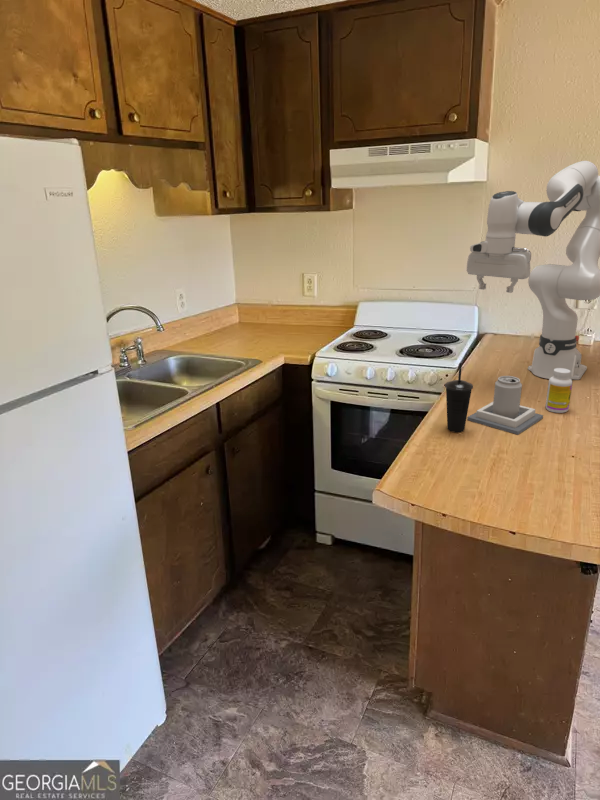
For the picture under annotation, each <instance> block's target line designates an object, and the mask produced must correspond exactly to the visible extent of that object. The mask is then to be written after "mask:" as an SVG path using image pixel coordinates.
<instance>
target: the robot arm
mask: <svg viewBox="0 0 600 800" xmlns="http://www.w3.org/2000/svg"><path fill="white" fill-rule="evenodd" d="M545 191H546V196H547V198H548V200H549V201H524V200H522V199H521V198H519V196H518V192H516V191H513V190H506V191H500V192H499V191H498V192H496V193H495V194H493V195H491V197H490V200H489V204H488V209H487V210H488V211H487V215H486V216H487V218H486V225H487V230H486V231H487V232H486V234H485V240H484V241H480V242H478V243H474V244H470V247H469V250H470V253H469V255H468V258H467V263H466V273H467V274H468V275H470V276H471V275H474V276H476V280H477V282H478V284H479V286H478V287H479V290H486V289H487V283H485V282H484V280H483V279H484V278H485V277H492V278H493V277H494V278H503V279H504V278H505V279H510V282H511V284H510V285H509V286H506V293H510V294H511V293H514V289H515V288H514V287H515V286H516V285H517V283H518V282H519V280H526V279H528V282H527V283H528V287H529V289H530V291H531V292H532V293H533V294H534V295H535V296H536V297H537V299H538V301H539V304H540V306H541V309H542V327H541V328H542V329H541V334H540V335H539V341H538V345H539V346H538V347H536V348H535V349H534V352H533V358H532V362H531V365H528V367H527V370H528V371H531V373H532V374H533V375H535V376H536V377H538V378H544V379H548V380H549V379H550V378H551V377H553V376H554V374H553V372H554V369H556V368H564V369H568V370H570V376H569V378H570V379H571V380H581V378H582V376H583V375H584V374H585V372H586V371H587V369H588V366H587V365H585V364H582V353H581V352H580V351H579V350H578V348H577V343H578V341H579V339H580V337H579V335H576V334H577V327H578V321H579V318H578V314H577V313H576V312H575V311H574V309H572V308H571V307H570V306H569V305H568V304H567V300H566V299H569V300H574V301H575V300H576V301H592V300H596V299H598V298H599V297H600V267H599V259H600V175H599V170H598V167H597V166H596V165H595V163H593V162H592V161H589V160H581V161H577V162H575V163H574V162H573V164H570V165H568V166H566V167H564V168H563V169H561V170H559V171H558V172H556V173H555V174H554V175H552V176H551V178H550V179H549V181H547V185H546V190H545ZM582 211H585V216H584V218H583V219H582V221H580V223H579V225H578V226H577V228H576V229H575V232H574V233H573V235H572V236H571V238H570V240H569V242H568V244H567V245H566V247H565V254H566V256H567V258H568V260H569V261H570V262H571V263H572V264H570V265H564V264H551V263H549V264H541V265H536V266H535V267H534V268H533V269H532V270H531V260H532V252H531V251H530V250H529V249H528V248H527V247H515V246H516V245H515V244H516V235H517V234H519V235H521V234H522V235H533V236H539V237H549V236H552V235H553V234H554V233H555V232H556V231H557V230H558V229H559V227H560V225H562V222H563V221H564V220H565V219H566V218H567V217H568V216H569V215H570V214H571V213H572V212H582Z"/></svg>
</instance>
